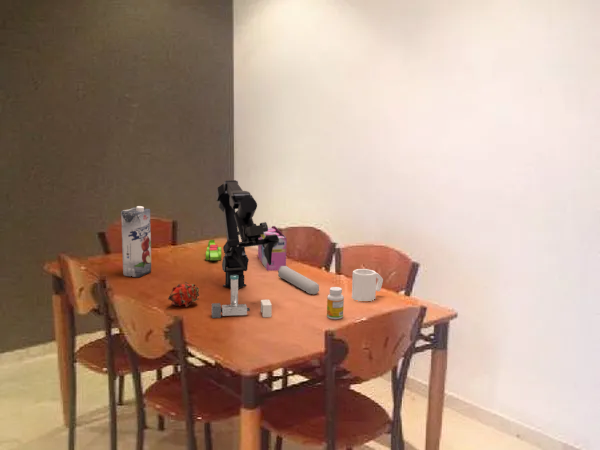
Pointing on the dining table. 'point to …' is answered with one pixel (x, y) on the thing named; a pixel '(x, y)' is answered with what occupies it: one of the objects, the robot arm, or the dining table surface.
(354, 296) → the mug
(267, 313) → the socket block
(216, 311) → the rod stand
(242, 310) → the tube
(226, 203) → the robot arm
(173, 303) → the dragon fruit
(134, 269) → the juice carton
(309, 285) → the tube
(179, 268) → the dining table surface
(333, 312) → the supplement bottle
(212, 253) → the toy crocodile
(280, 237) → the gum box
